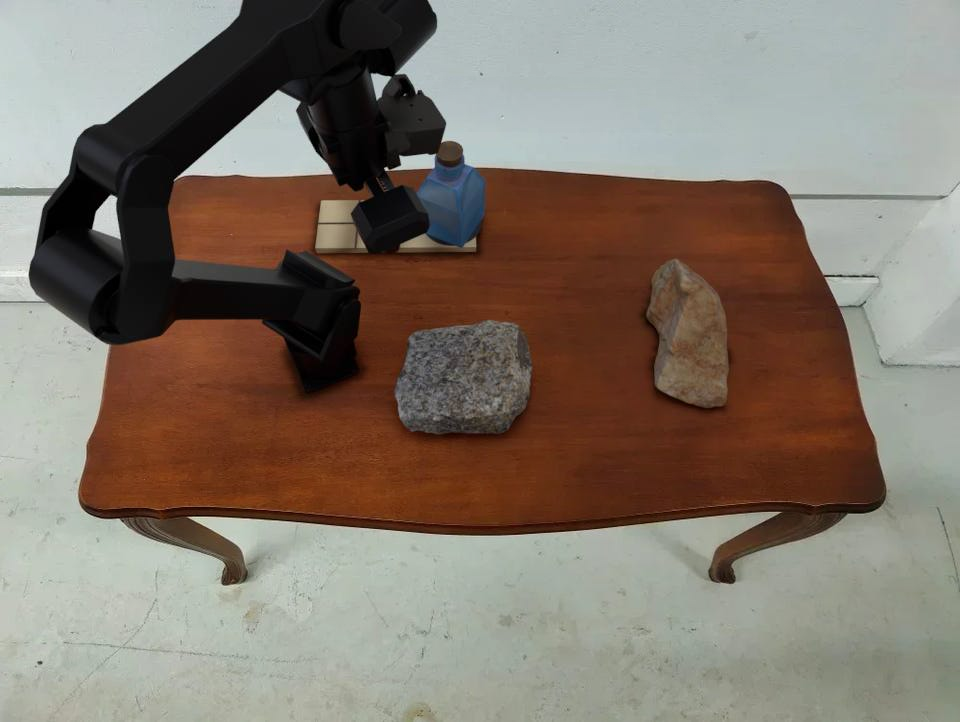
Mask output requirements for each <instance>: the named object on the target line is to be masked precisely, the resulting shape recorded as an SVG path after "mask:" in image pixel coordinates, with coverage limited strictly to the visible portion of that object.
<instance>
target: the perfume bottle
mask: <svg viewBox="0 0 960 722" xmlns="http://www.w3.org/2000/svg"><path fill="white" fill-rule="evenodd" d="M465 158H466V157H465V155H464V147H463V145H461V144H460V143H459V142H457V141H453V140H446V141H442V142H441V145H440V149H439V152H438V153H437V154H434V168H432V169H431V171H430V172H429V174H428V175H427V177H425V179H424V181H423V182H422V184H421V185H420V187H419V189H418V190H417V192H416V194H417V196H418V197H419V199H420V201H421V202H422V204H423V206H424V208H425V209H426V211H427V213H428V216H429V222H430V227H429V229H428V232H427V233H426V234H428V235H431V236H433V237H436V238H438V239H441V240H443V241H445V242H448V243H450V244H453V245H455V246H458V247H460V248H462V247H463V246H464V244H465V243H466V241H467V240H468V239H469V237H470V236H471V234H472V233H473V231H474V230H475V228H476V227H477V225H478V224H479V222H480V221H481V219H482V220H483V218H484V217H485V213H486V210H485V208H486V206H485V205H486V179H485V178H484V177H483V176H482V174H480V173H479V171H478V170H476V168H474V166H471V165H469V164H466V163H465Z"/></svg>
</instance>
